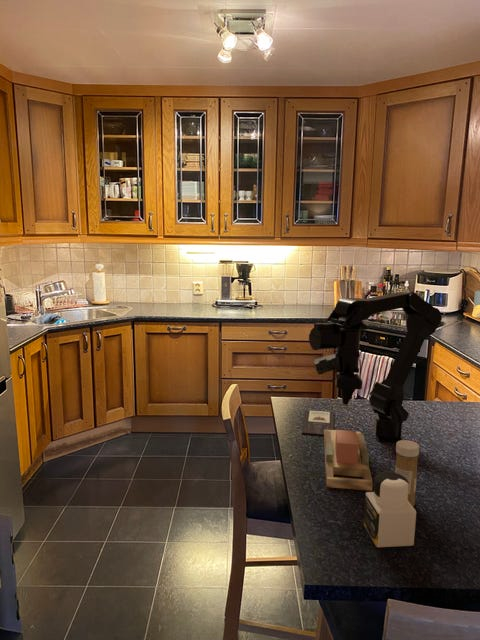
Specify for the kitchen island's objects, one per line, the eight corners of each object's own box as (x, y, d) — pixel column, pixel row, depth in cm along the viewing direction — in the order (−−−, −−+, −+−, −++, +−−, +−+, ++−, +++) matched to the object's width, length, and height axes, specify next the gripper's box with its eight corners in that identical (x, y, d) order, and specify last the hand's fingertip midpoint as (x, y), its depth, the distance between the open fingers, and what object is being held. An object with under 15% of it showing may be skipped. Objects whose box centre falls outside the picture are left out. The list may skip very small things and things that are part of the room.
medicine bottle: (363, 524, 94) (366, 468, 92) (398, 523, 94) (402, 466, 92) (376, 548, 87) (380, 487, 85) (414, 546, 87) (419, 486, 85)
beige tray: (360, 438, 134) (360, 425, 133) (372, 490, 106) (373, 474, 106) (323, 436, 135) (324, 422, 134) (326, 486, 108) (327, 470, 107)
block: (355, 449, 122) (356, 431, 121) (357, 464, 114) (358, 444, 113) (335, 448, 123) (336, 429, 122) (336, 462, 115) (337, 443, 114)
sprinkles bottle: (419, 504, 101) (424, 445, 98) (405, 511, 98) (410, 450, 96) (401, 495, 105) (405, 437, 102) (387, 501, 102) (391, 442, 100)
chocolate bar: (301, 432, 136) (305, 410, 153) (301, 435, 136) (305, 413, 154) (333, 435, 134) (334, 412, 152) (333, 438, 135) (333, 415, 152)
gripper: (316, 338, 134) (314, 391, 137) (317, 354, 116) (314, 415, 118) (356, 339, 132) (353, 393, 135) (364, 356, 114) (360, 418, 117)
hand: (345, 404), depth 126 cm, fingers closed
